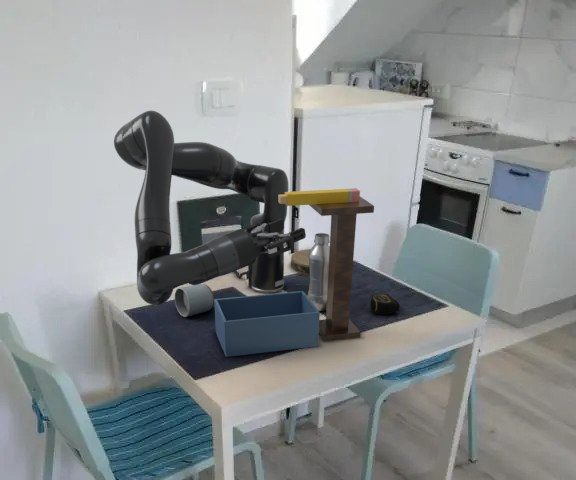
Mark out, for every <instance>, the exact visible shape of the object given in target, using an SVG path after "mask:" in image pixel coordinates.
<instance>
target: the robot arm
mask: <svg viewBox="0 0 576 480" xmlns="http://www.w3.org/2000/svg"><path fill="white" fill-rule="evenodd" d="M113 146H114V149H115V151H116V154H117V155H118V157H119V158H120V159H121V160H122V161H123V162H124V163H126V164H127V165H128V166H130V167H132V168H134V169H137V170H140V171H141V170H142V171H145V172H144V178H143V182H142V185H141V189H140V192H139V194H138V198H137V202H136V205H135V210H134V234H135V235H134V236H135V237H134V238H135V245H136V253H137V255H136V258H137V259H136V260H137V261H136V287H137V293H138V295H139V297H140V298H141V299H142V300H143V301H144V302H145V303H146V304H149V305H151V306H159V305H163V304H165V303H166V302H167V301H168V300H169V299H170V298H171V296H172V294H173V291H174V289H177V288H179V287H182V286H184V285H187V284H189V285H190V286H192V285H198V284H205V283H206V282H208V281H211V280H213V279H216V278H218V277H224V276H226V275H229V274H232V273H234V274H235V276H236V278H237V279H242V277H243V276H245V275H246V277H245V278H246V280H248V281H247V283H248V288H249V289H251V290H252V291H254V292H258V293H262V294H275V293H279V292H281V291H283V290H284V288H285V275H284V274H285V253H288V252H289V251H292V250H294V249H295V243H296V242H299V241H301V240H304V239H306V237H307V234H306V229H305V228H303V227H300V228H297V229H294V230H293V231H289V232H287V233H286V232H285V223H286V220H287V217H288V206H287V205H286V204H280V203H279V202H278V195H283V194H285V192H289V186H290V185H289V179H288V178H289V177H288V176H287V172H286V171H284V170H283V169H280V168H277V167H273V166H267V165H262V164H253V163H247V162H243V161H240V160H237V158H235V156H234V155H233V154H232V153H231V152H229V151H228V150H226V149H224V148H222V147H220V146H216V145H214V144H211V143H210V142H209V143H208V142H203V141H188V142H175V135H174V131H173V128H172V126H171V124H170V122H169V120H167V119H166V117H165V116H164V115H162V113H160V112H159V111H156V110H145V111H144V112H142V113H139V114H138V115H137V116H136V117H133V118H132V119H131V120H130V121H128V122H127V123H125V124H123V126H121V127H120V128H119V129H118V131H117V132H116V133H115V135H114V137H113ZM172 176H173V177H177V178H181V179H183V180H188V181H191V182H194V183H197V184H199V185H203V186H206V187H209V188H213V189H216V190H230V191H233V192H235V193H238V194H239V195H241V196H244V197H245V198H247V199H249V200H251V201H254V202H258V203H262V204H263V205H264V206H263V212H262V213H258V214H255V215H253V216H251V218H250V225H248V226H246V227H243V228H239V229H236V230H234V231H231V232H230V233H226V234H223V235H221V236H218V237H216V238H213V239H211V240H209V241H207V242H206V243H203V244H201V245H199V246H196V247H194V248H191V249H188V250H187V251H184V252H176V253H171V251H172V229H171V217H170V215H171V214H170V213H171V212H170V203H171V202H170V200H171V188H172V187H171V186H172ZM246 267H247V270H246V271H243V272H240V273H239V272H238V271H239V270H241V269H244V268H246Z"/></svg>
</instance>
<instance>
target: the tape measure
mask: <svg viewBox="0 0 576 480" xmlns="http://www.w3.org/2000/svg"><path fill="white" fill-rule="evenodd" d="M369 307H370V309H371V310H372V312H375V313H377V314H380V315H389V314H393V313H397V312H399V311H400V309H401V305H400V303H399V301H397V300H396V299H395V298H393V297H392V296H391V295H390V294H389V293H385V294H375V295H373V296H372V297H371V298H370V303H369Z"/></svg>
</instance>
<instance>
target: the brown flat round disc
mask: <svg viewBox="0 0 576 480" xmlns="http://www.w3.org/2000/svg"><path fill="white" fill-rule="evenodd" d="M310 250H311V248H309V249H302V250H298V251H295V252H293V253H292V254H291V256H290V267H291V269H292V270H293V271H294V272H297V273H299V274H301V275H306V276H310V267H309V259H308V254H309V251H310Z"/></svg>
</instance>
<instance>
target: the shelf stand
mask: <svg viewBox="0 0 576 480" xmlns="http://www.w3.org/2000/svg"><path fill="white" fill-rule="evenodd" d="M308 206H309V207H311V209H312V210H314V211H315V212H316V213H317V214H319V215H320V216H321V217H325V216H326V217H328V216H330V217H331V218H330V233H329V240H330V242H329V247H330V251H329V270H328V289H327V308H326V310H325V318H324V319H323V318H322V319H319V336H320V337H321V338H322V339H323V341H324V342H333V341H341V340H349V339H359V338H361V330H359V328H358V327H357V326H356V325H355V324H354V322H353V321H352V320H351V318H350V311H351V310H350V308H351V296H352V284H353V283H352V282H353V271H354V270H353V268H354V256H355V243H356V230H357V229H356V228H357V216H358V215H359V214H374V212H375V205H373V203H371V202H369V201H368V200H366V199H365V198H363V197H362V196H360V198H359V202H348V203H330V204H313V205H308Z"/></svg>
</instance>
